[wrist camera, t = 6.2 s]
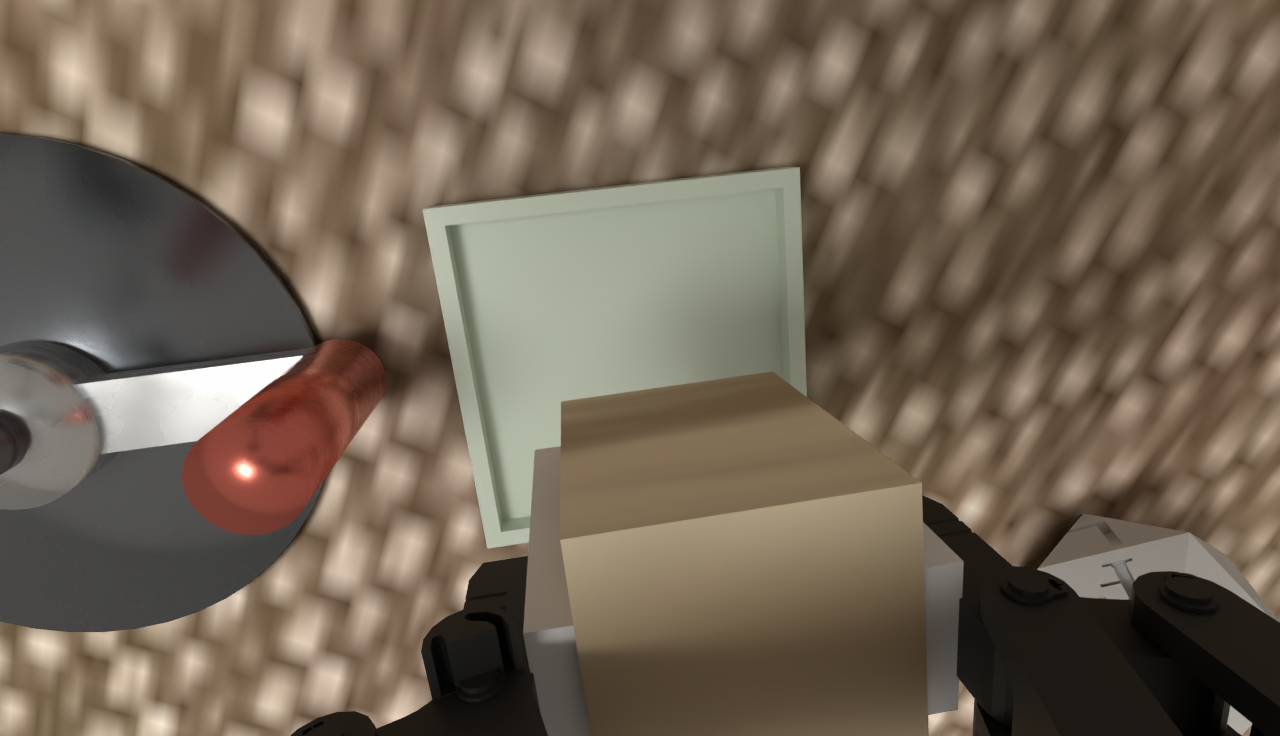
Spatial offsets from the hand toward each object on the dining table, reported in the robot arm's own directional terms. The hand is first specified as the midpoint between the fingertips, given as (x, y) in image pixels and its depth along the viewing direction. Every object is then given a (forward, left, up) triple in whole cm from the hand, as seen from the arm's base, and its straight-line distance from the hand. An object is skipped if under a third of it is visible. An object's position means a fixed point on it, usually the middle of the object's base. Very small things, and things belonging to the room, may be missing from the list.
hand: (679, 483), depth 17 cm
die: (+13, +19, -11) cm, 25 cm away
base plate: (-1, -20, -10) cm, 23 cm away
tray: (0, 0, -10) cm, 10 cm away
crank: (-1, -16, -10) cm, 18 cm away
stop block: (0, 0, 0) cm, 0 cm away
